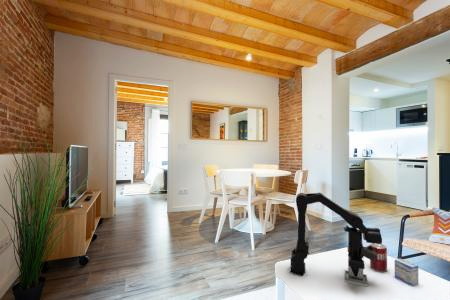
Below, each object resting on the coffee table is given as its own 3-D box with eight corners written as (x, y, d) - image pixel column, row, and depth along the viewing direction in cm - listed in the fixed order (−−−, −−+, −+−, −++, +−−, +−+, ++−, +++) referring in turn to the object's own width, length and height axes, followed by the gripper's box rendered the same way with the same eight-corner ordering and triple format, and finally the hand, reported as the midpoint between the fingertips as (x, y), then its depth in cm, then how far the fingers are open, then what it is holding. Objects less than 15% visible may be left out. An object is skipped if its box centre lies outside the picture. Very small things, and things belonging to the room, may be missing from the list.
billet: (348, 277, 106) (348, 262, 106) (348, 273, 110) (348, 259, 110) (363, 281, 103) (363, 265, 103) (362, 276, 107) (362, 261, 107)
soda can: (390, 270, 114) (390, 247, 114) (380, 273, 112) (380, 249, 112) (376, 264, 121) (376, 241, 121) (366, 266, 118) (366, 244, 119)
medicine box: (394, 277, 109) (393, 259, 109) (400, 275, 110) (400, 257, 110) (412, 286, 101) (412, 267, 101) (419, 284, 103) (418, 265, 103)
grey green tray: (344, 281, 105) (344, 277, 105) (344, 274, 112) (344, 270, 112) (368, 287, 101) (367, 282, 101) (366, 278, 108) (366, 274, 108)
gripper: (378, 252, 95) (378, 289, 95) (373, 237, 111) (373, 268, 111) (348, 247, 100) (348, 282, 100) (347, 233, 116) (347, 263, 116)
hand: (355, 273), depth 107 cm, fingers closed on billet, 4 cm apart
